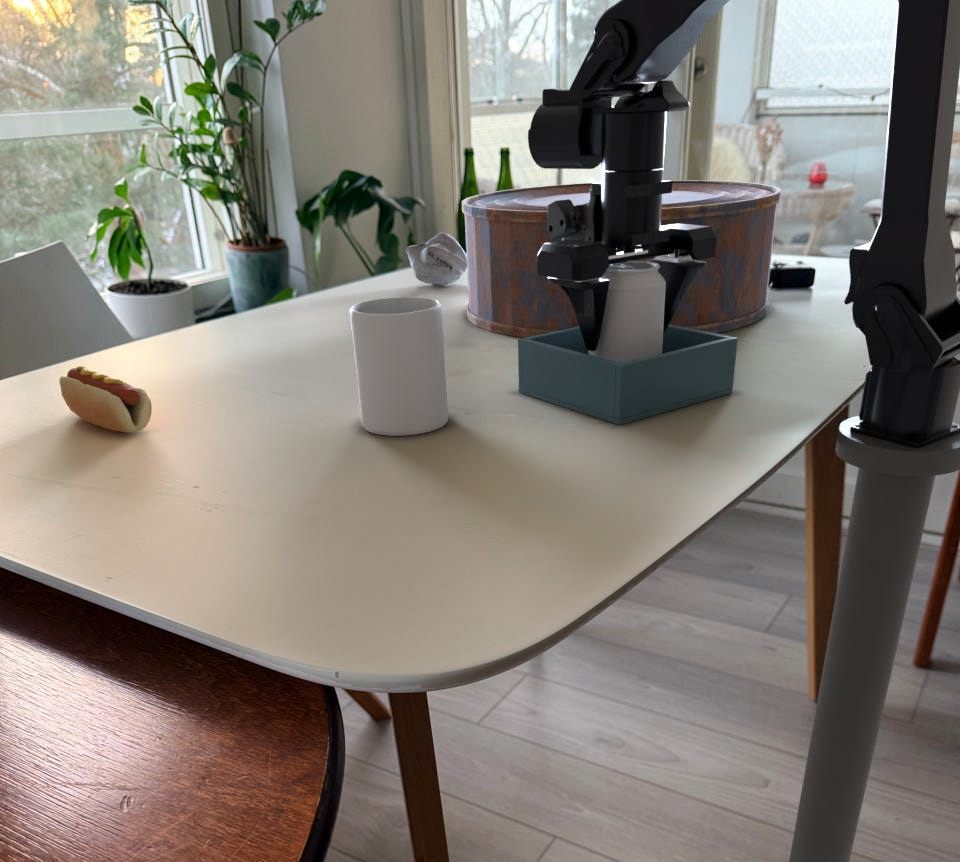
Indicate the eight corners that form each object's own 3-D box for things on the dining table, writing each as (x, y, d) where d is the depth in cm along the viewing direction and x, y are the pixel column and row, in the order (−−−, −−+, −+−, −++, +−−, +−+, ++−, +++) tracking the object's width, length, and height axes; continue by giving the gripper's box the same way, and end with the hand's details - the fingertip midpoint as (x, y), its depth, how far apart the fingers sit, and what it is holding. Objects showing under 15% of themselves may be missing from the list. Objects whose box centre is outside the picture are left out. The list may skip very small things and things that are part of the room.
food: (56, 416, 96) (43, 368, 93) (106, 404, 99) (94, 358, 97) (115, 443, 87) (102, 391, 85) (168, 428, 91) (157, 378, 88)
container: (631, 273, 157) (634, 176, 150) (835, 307, 126) (852, 187, 118) (414, 308, 138) (405, 200, 131) (589, 360, 107) (592, 220, 99)
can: (643, 400, 90) (648, 271, 84) (575, 392, 94) (575, 268, 88) (671, 381, 95) (678, 259, 89) (606, 375, 99) (608, 256, 93)
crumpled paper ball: (399, 289, 154) (395, 238, 150) (413, 280, 161) (409, 231, 157) (463, 288, 152) (461, 236, 147) (474, 279, 159) (472, 229, 155)
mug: (431, 438, 84) (422, 315, 79) (347, 433, 87) (333, 313, 81) (471, 402, 94) (465, 290, 88) (394, 398, 96) (385, 289, 91)
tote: (732, 393, 93) (738, 337, 90) (619, 425, 85) (621, 366, 83) (626, 365, 104) (628, 315, 101) (518, 392, 96) (517, 338, 94)
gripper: (644, 160, 94) (637, 317, 102) (499, 175, 85) (504, 345, 93) (726, 163, 86) (712, 332, 94) (576, 179, 77) (575, 364, 85)
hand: (625, 342), depth 92 cm, fingers open, 9 cm apart
